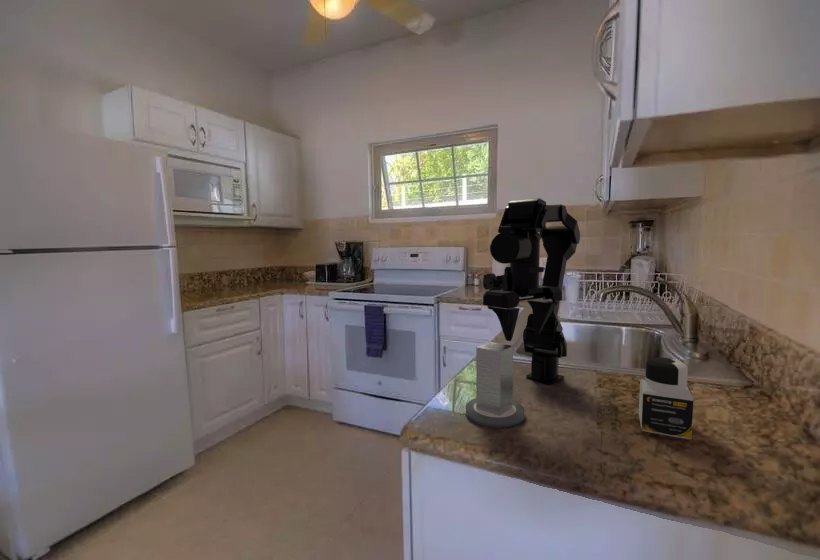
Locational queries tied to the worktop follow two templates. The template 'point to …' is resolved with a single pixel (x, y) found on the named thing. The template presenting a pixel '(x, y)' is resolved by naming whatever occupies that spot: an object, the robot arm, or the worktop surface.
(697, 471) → the worktop surface
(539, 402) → the worktop surface
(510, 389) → the block
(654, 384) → the medicine bottle
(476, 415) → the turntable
